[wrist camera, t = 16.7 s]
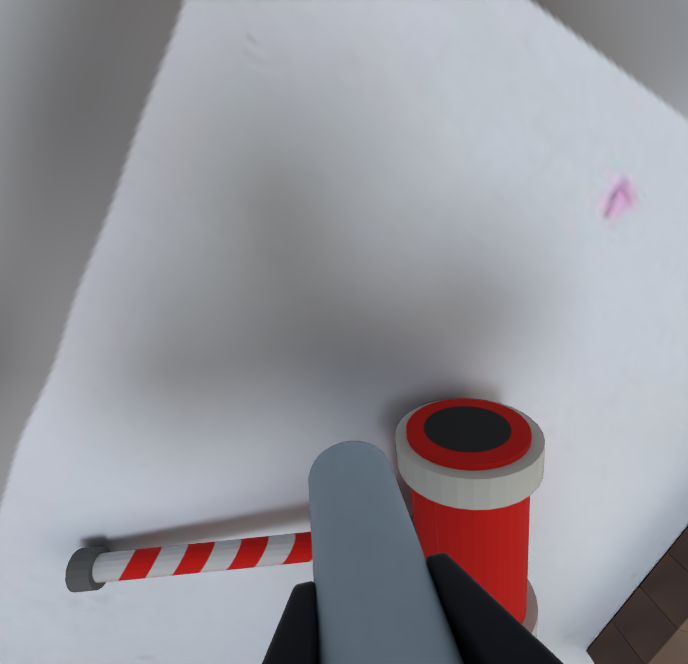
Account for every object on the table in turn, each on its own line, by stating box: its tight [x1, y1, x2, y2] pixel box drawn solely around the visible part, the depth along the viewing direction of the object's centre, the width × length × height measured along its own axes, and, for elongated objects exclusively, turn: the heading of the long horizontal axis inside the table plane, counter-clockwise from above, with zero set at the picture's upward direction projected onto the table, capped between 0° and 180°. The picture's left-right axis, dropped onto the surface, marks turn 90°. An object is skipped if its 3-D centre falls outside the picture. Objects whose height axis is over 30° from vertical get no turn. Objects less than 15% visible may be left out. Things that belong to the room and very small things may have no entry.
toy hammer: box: [65, 398, 545, 637], centre depth 20 cm, size 23×12×6 cm, turn 97°
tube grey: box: [308, 441, 464, 664], centre depth 7 cm, size 3×3×10 cm
